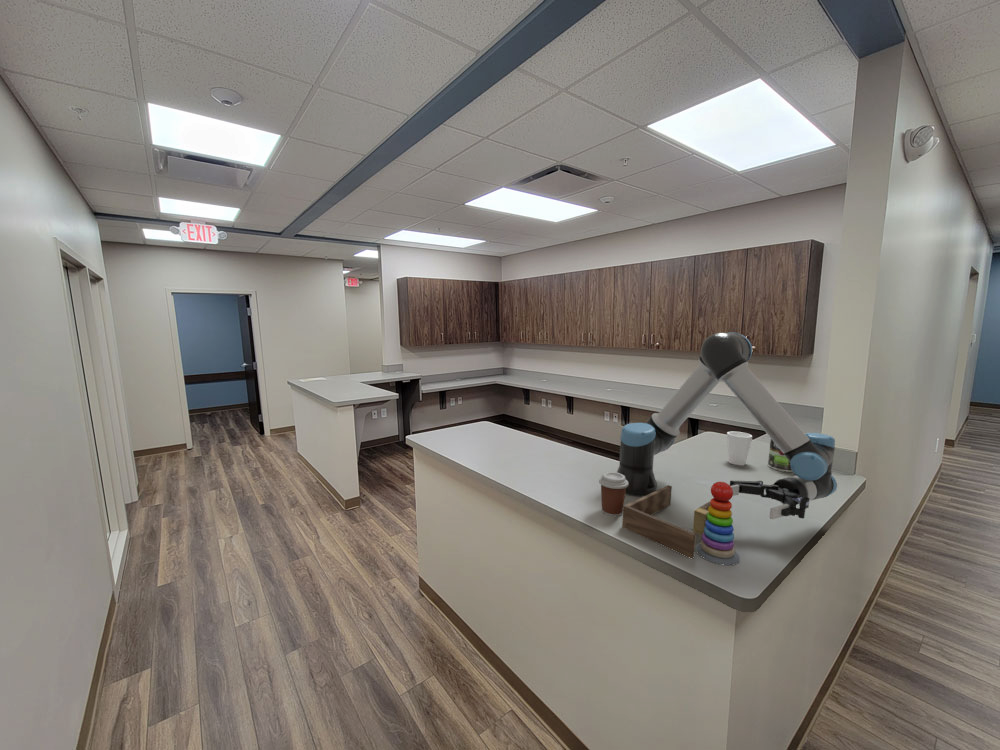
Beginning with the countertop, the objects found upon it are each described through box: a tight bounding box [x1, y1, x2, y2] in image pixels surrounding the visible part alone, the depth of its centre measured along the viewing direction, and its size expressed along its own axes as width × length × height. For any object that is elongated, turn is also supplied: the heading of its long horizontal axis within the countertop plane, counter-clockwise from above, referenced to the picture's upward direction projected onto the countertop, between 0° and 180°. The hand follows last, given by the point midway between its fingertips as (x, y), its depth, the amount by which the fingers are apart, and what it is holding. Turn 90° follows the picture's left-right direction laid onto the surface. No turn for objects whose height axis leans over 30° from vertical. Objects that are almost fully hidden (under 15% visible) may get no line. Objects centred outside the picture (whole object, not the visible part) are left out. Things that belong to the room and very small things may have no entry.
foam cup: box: [726, 431, 753, 466], centre depth 175 cm, size 10×9×13 cm
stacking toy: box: [700, 481, 736, 558], centre depth 104 cm, size 8×8×19 cm
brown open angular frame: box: [621, 484, 711, 559], centre depth 118 cm, size 26×21×6 cm
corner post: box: [692, 507, 709, 536], centre depth 115 cm, size 3×3×6 cm
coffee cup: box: [598, 471, 629, 517], centre depth 127 cm, size 9×9×12 cm
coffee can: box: [767, 438, 793, 473], centre depth 169 cm, size 10×10×14 cm
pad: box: [695, 542, 740, 566], centre depth 104 cm, size 10×10×1 cm
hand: (745, 502), depth 107 cm, fingers open, 13 cm apart
